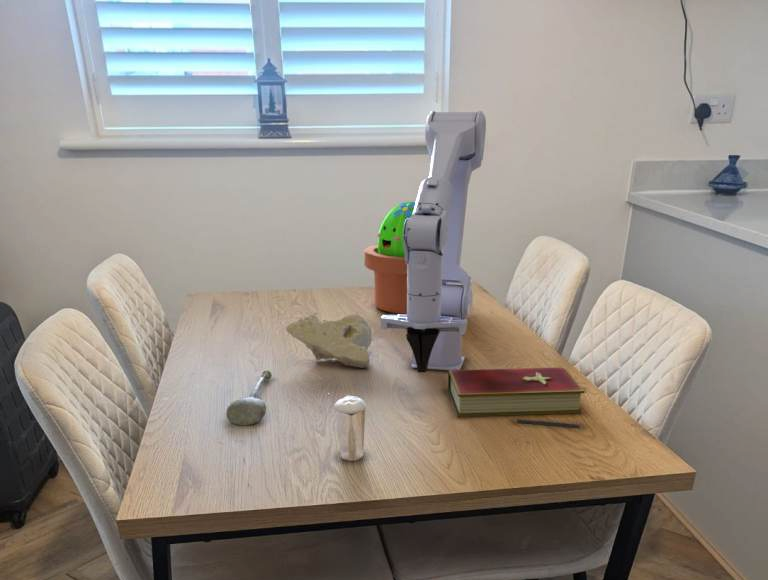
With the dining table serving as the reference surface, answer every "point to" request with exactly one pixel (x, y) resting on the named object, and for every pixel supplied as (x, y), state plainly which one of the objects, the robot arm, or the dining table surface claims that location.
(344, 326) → the beige rock fragment
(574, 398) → the hardcover book
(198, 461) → the dining table surface
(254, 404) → the soupspoon
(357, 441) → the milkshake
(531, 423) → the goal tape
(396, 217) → the potted cactus
